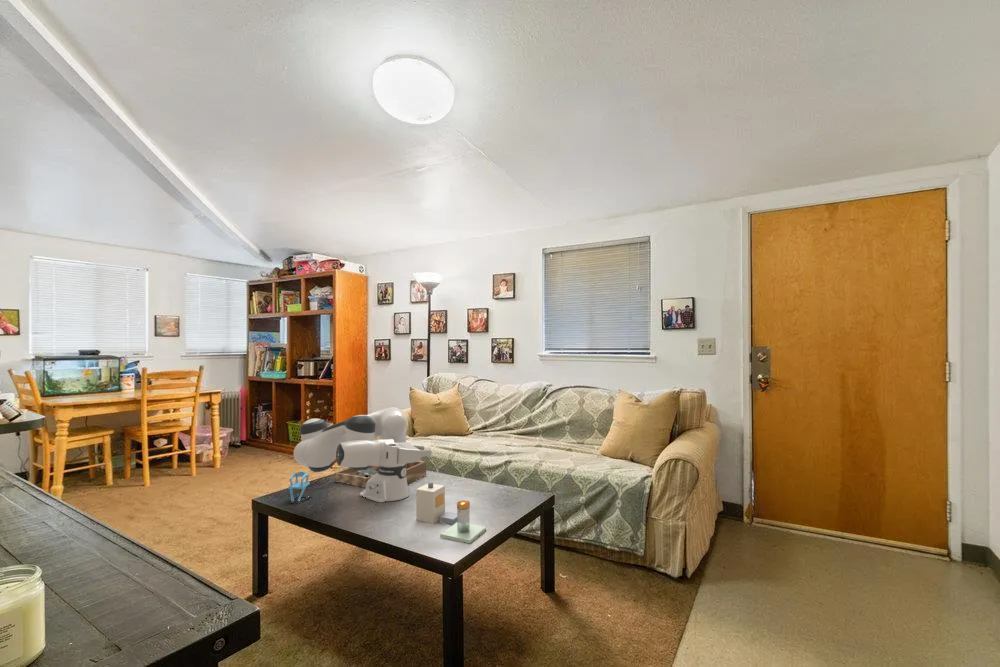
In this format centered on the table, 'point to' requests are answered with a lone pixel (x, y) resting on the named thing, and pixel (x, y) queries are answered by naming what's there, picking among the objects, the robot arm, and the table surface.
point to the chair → (298, 484)
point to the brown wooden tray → (352, 476)
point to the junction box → (430, 502)
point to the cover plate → (449, 518)
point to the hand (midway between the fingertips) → (427, 450)
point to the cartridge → (463, 516)
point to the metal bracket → (368, 472)
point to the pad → (463, 537)
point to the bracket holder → (415, 470)
